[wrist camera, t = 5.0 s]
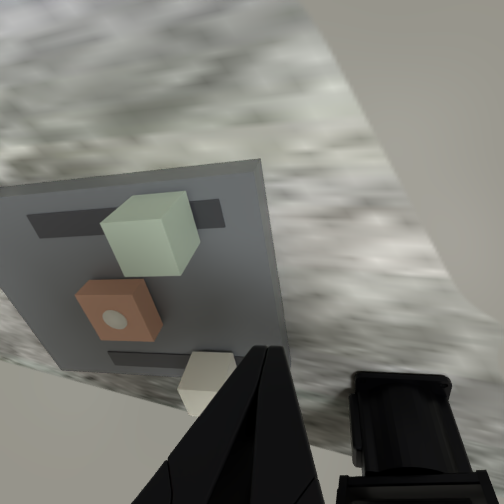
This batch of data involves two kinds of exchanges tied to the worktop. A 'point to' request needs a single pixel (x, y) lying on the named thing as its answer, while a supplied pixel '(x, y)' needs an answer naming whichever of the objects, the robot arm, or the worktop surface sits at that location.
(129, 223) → the sage slider
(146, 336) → the terracotta button
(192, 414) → the cream slider
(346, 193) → the worktop surface
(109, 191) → the control panel
